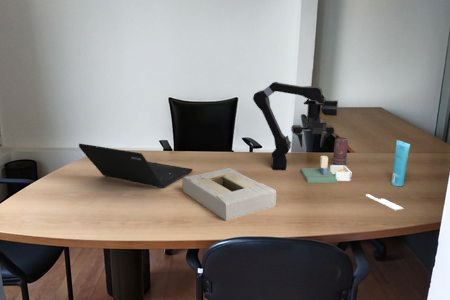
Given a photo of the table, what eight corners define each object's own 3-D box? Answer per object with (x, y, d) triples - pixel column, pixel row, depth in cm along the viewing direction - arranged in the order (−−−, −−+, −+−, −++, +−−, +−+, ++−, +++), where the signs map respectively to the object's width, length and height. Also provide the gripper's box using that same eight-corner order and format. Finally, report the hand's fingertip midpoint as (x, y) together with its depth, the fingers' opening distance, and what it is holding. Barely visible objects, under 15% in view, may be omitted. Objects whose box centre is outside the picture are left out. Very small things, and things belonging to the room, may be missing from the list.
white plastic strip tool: (374, 194, 158) (375, 192, 158) (405, 209, 145) (405, 206, 145) (365, 196, 156) (365, 193, 156) (395, 211, 143) (395, 208, 143)
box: (181, 193, 158) (225, 222, 133) (181, 175, 156) (226, 201, 131) (227, 182, 171) (276, 208, 146) (228, 166, 169) (277, 188, 144)
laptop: (193, 172, 181) (193, 132, 176) (143, 201, 149) (141, 153, 143) (137, 162, 195) (135, 124, 190) (80, 186, 163) (76, 142, 158)
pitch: (307, 182, 169) (307, 177, 168) (300, 171, 183) (301, 166, 183) (337, 182, 169) (337, 177, 169) (327, 171, 184) (328, 166, 183)
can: (346, 168, 188) (349, 140, 184) (333, 167, 190) (335, 139, 186) (345, 164, 194) (348, 137, 190) (332, 163, 195) (334, 136, 191)
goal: (335, 180, 172) (336, 172, 171) (329, 173, 181) (330, 165, 180) (351, 180, 172) (351, 172, 171) (344, 173, 181) (344, 165, 180)
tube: (408, 186, 166) (414, 143, 160) (400, 188, 164) (406, 144, 158) (394, 180, 172) (399, 139, 167) (386, 182, 170) (392, 140, 165)
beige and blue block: (321, 175, 173) (323, 159, 170) (317, 170, 179) (319, 154, 177) (327, 175, 173) (329, 159, 170) (323, 170, 179) (325, 154, 177)
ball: (347, 177, 175) (339, 178, 175) (344, 174, 178) (337, 176, 178) (346, 170, 174) (338, 171, 174) (344, 167, 177) (336, 168, 177)
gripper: (296, 117, 167) (294, 152, 172) (339, 118, 168) (336, 152, 172) (292, 113, 178) (290, 145, 182) (332, 113, 178) (329, 145, 183)
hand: (311, 147), depth 180 cm, fingers open, 9 cm apart
